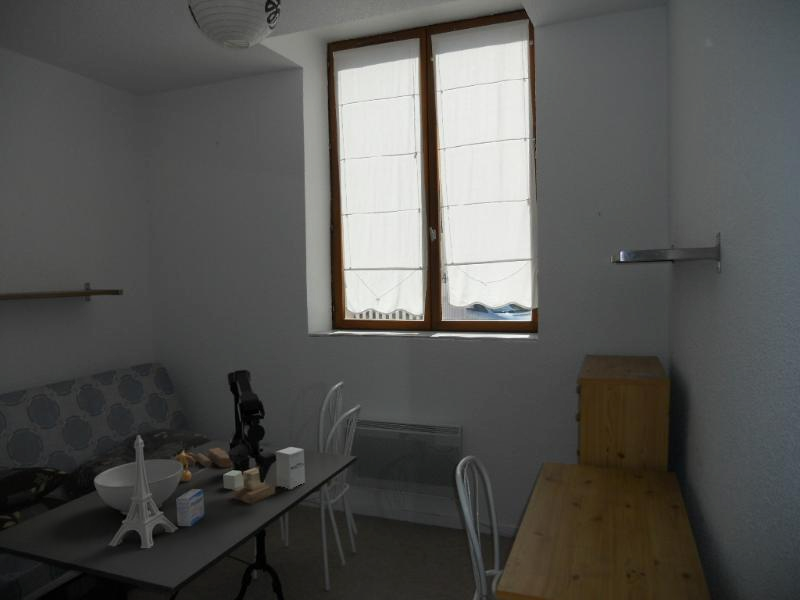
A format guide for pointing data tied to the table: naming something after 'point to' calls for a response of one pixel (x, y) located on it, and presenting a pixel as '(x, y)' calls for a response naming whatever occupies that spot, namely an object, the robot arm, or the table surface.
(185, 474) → the figurine
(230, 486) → the sage cube
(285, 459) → the supplement box
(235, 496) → the walnut block
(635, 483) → the table surface
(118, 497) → the decorative bowl
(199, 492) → the medicine box
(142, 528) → the eiffel tower
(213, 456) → the wooden block set
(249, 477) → the oak block
